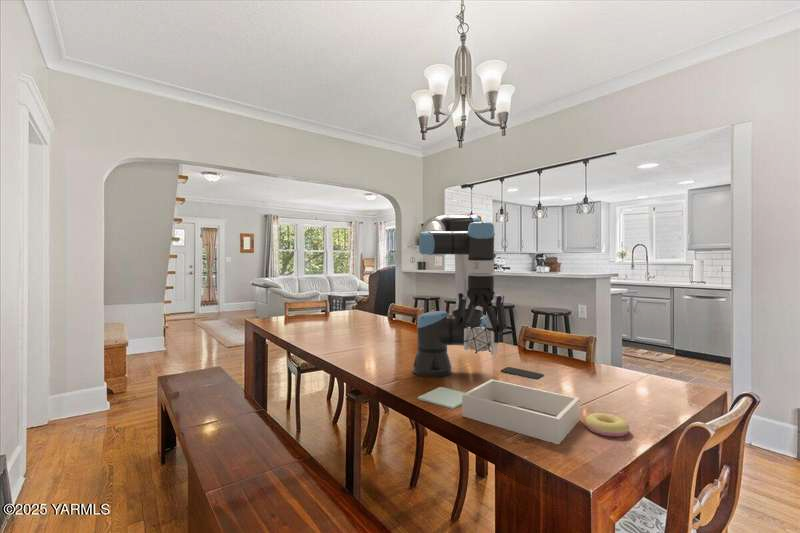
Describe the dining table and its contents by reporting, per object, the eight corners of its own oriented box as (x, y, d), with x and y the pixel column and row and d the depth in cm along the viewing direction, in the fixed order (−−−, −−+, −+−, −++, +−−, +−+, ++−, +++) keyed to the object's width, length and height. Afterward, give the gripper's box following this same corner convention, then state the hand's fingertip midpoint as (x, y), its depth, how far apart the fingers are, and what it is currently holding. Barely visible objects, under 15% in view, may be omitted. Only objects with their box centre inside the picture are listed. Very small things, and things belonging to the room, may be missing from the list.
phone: (537, 378, 138) (499, 370, 148) (537, 381, 138) (499, 372, 148) (544, 374, 144) (508, 366, 154) (544, 376, 144) (508, 368, 154)
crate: (462, 416, 106) (462, 394, 106) (491, 398, 120) (491, 379, 119) (558, 444, 89) (558, 419, 89) (579, 420, 103) (579, 398, 103)
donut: (582, 430, 102) (594, 441, 93) (578, 412, 103) (589, 421, 94) (622, 427, 100) (637, 437, 91) (618, 409, 101) (633, 417, 92)
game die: (486, 365, 111) (498, 343, 105) (458, 354, 112) (469, 331, 106) (490, 345, 118) (502, 323, 112) (464, 334, 120) (474, 312, 114)
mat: (417, 399, 119) (417, 397, 119) (440, 388, 129) (440, 386, 129) (453, 409, 110) (453, 407, 110) (474, 397, 120) (474, 395, 120)
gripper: (443, 274, 115) (443, 348, 116) (510, 276, 102) (509, 360, 103) (456, 273, 121) (455, 343, 122) (520, 275, 108) (519, 354, 109)
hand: (480, 351), depth 113 cm, fingers closed on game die, 8 cm apart
